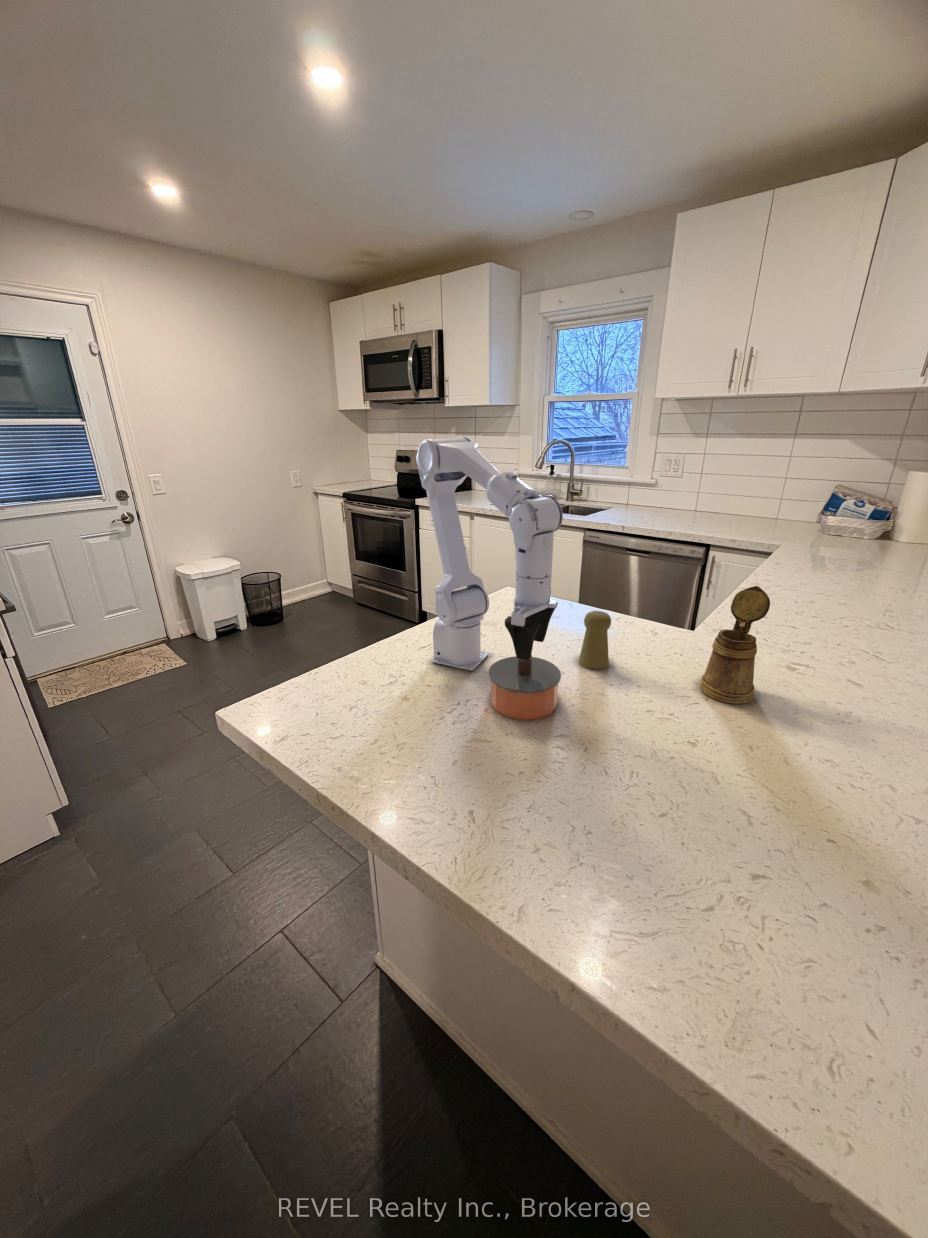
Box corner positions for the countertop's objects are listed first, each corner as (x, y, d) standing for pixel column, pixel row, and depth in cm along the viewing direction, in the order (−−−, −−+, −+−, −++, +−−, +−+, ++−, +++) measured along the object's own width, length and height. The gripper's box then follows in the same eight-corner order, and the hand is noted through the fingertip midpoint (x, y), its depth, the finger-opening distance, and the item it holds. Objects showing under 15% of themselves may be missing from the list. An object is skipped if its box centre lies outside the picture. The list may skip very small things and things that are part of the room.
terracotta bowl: (480, 710, 86) (480, 683, 84) (505, 679, 96) (506, 655, 94) (544, 726, 81) (546, 698, 79) (564, 693, 91) (565, 667, 89)
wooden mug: (764, 679, 94) (786, 590, 87) (746, 710, 85) (769, 612, 78) (714, 665, 100) (731, 580, 93) (692, 693, 90) (709, 600, 83)
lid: (476, 686, 84) (476, 663, 83) (504, 656, 95) (504, 635, 93) (548, 703, 79) (549, 679, 77) (569, 669, 89) (570, 647, 88)
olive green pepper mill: (609, 670, 98) (615, 619, 94) (578, 668, 100) (582, 617, 95) (607, 657, 104) (613, 608, 100) (578, 654, 105) (582, 606, 101)
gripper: (543, 590, 72) (539, 672, 77) (569, 564, 84) (564, 637, 89) (499, 584, 75) (498, 663, 80) (530, 560, 87) (527, 630, 92)
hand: (530, 649), depth 85 cm, fingers open, 7 cm apart
